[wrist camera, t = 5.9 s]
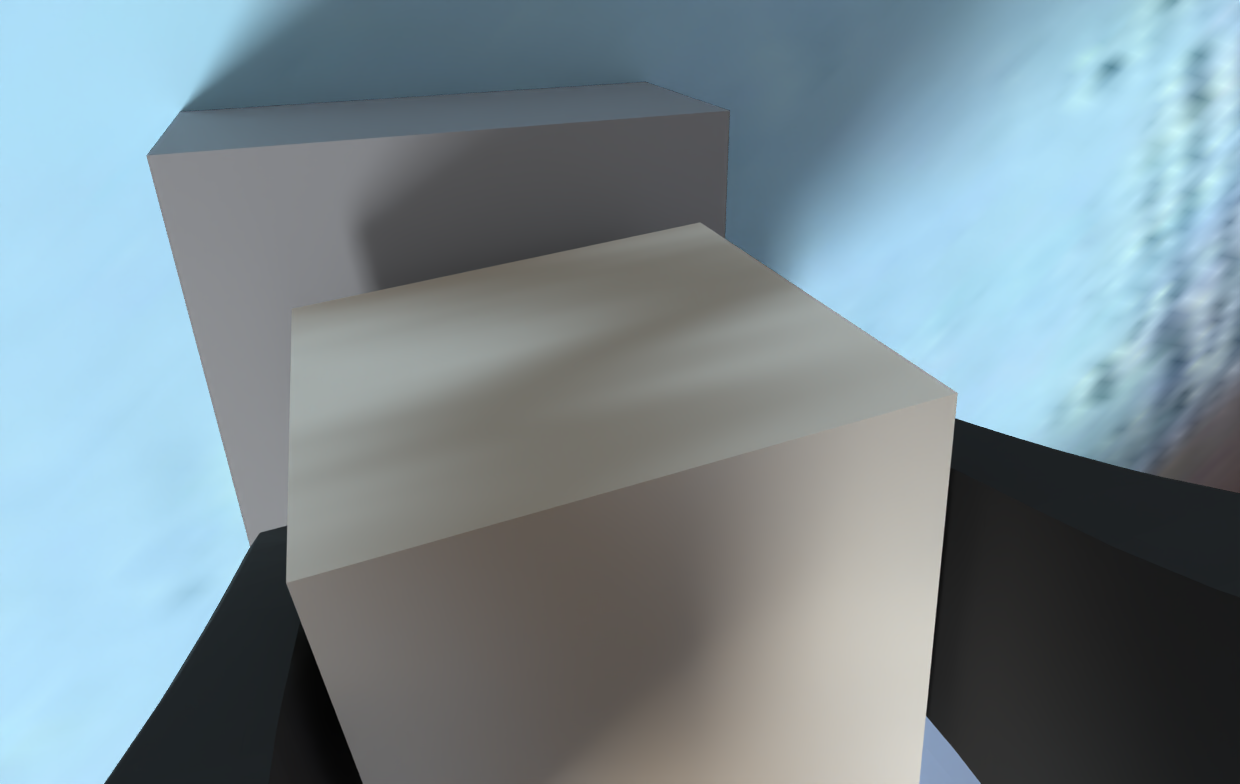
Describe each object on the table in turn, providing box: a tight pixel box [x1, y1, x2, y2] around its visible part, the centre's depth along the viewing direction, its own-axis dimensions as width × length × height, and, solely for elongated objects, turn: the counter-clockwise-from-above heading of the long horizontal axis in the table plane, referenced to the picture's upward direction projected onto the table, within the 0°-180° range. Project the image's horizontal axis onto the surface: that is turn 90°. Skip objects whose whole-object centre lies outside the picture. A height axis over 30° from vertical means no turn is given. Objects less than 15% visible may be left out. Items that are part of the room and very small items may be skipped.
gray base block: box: [147, 82, 730, 547], centre depth 13 cm, size 7×7×4 cm
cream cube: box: [286, 222, 957, 784], centre depth 9 cm, size 5×5×5 cm
